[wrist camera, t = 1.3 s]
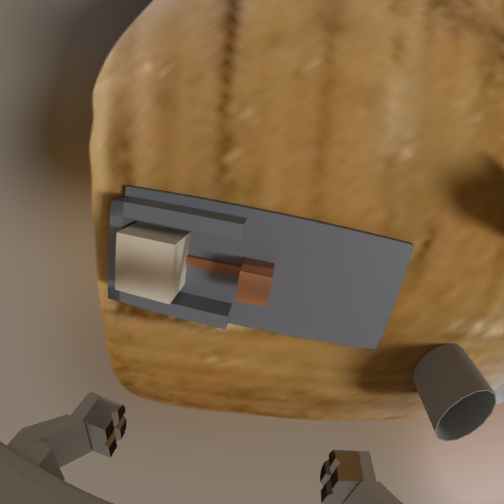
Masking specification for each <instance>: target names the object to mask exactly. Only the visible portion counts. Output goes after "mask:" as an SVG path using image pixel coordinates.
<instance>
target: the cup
mask: <svg viewBox="0 0 504 504" xmlns="http://www.w3.org/2000/svg"><path fill="white" fill-rule="evenodd" d="M413 382H414V384H415V386H416V389H417V391H418V393H419V395H420V398H421V400H422V402H423V404H424V407H425V409H426V411H427V414H428V416H429V418H430V421H431V423H432V426H433V428H434V430H435V433H436V436H437V438H438V439H441V440H444V441H451V440H458V439H460V438H462V437H464V436H466V435H469V434H470V433H472V432H473V431H475V430H476V429H477V428H479V427H480V426H481V425H482V424H483V423H484V422H485V421H486V420H487V418H488V417H489V416H490V415H491V414H492V411H493V409H494V407H495V405H496V395H495V393H494V391H493V390H492V388H491V387H490V385H489V384H488V382H487V381H486V380H485V378H484V377H483V375H482V374H481V372H480V371H479V370H478V368H477V367H476V365H475V364H474V363H473V361H472V360H471V358H470V357H469V356H468V354H467V353H466V352H465V350H464V349H463V348H462V347H460V346H459V345H457V344H447V343H445V344H443V345H440V346H438V347H435V348H433V349H432V350H431V351H429V352H428V353H427V354H426V355H424V356H423V357H422V358H421V360H420V361H419V363H418V364H417V366H416V367H415V369H414V374H413Z"/></svg>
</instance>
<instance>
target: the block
mask: <svg viewBox="0 0 504 504" xmlns="http://www.w3.org/2000/svg"><path fill="white" fill-rule="evenodd" d="M190 236H191V231H186V230H181V229H176V228H171V227H166V226H161V225H156V224H151V223H146V222H141V221H138V222H136V223H134V224H132V225H130V226H128V227H126V228H124V229H122V230H120V231H118V232H117V234H116V258H115V290H118V291H122V292H125V293H129V294H132V295H136V296H140V297H143V298H147V299H151V300H155V301H158V302H162V303H166V304H170V303H171V302H172V300H173V299H174V298H175V296H176V295H177V294H178V292H179V291H180V290H181V289H182V287H183V286H184V285H185V277H186V268H187V265H188V266H192V267H197V268H201V269H206V270H210V271H215V272H219V273H224V274H229V275H233V276H238V277H239V280H238V285H237V291H236V296H235V300H236V301H240V302H245V303H250V304H254V305H259V306H264V307H266V306H267V301H268V297H269V293H270V288H271V284H272V279H273V272H274V265H275V263H271V262H266V261H262V260H257V259H252V258H247V257H246V258H245V260H244V263H243V265H242V266H240V265H236V264H231V263H226V262H222V261H217V260H212V259H208V258H203V257H198V256H194V255H189V254H188V251H189V243H190Z"/></svg>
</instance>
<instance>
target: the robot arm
mask: <svg viewBox="0 0 504 504" xmlns="http://www.w3.org/2000/svg"><path fill="white" fill-rule="evenodd" d="M124 413H125V406H124V405H121V404H119V403H116V402H114V401H111V400H109V399H106V398H104V397H102V396H99V395H97V394H94V393H92V392H90V393H88V394H87V396H86V397H85V398H84V399H83V400H82V402H81V403H80V404H79V405H78V407H77V408H76V409H75V411H74V412H73V413H72V414H71V415H68V414H67V415H64V416H61V417H57V418H54V419H51V420H48V421H45V422H41V423H38V424H34V425H31V426H28V427H24V428H22V429H21V430H20V431H19V432H18V433H17V435H16V436H15V437H14V438H13V439H12V440H11V441H10V443H9V444H8V445H7V446H6V445H5V444H3V443H2V442H0V504H113V503H110V502H108V501H106V500H103V499H101V498H98V497H96V496H94V495H92V494H90V493H87V492H85V491H83V490H81V489H79V488H77V487H75V486H73V485H71V484H69V483H67V482H65V479H64V476H63V474H62V472H61V470H60V467H62V466H63V465H66V464H68V463H70V462H72V461H74V460H76V459H77V458H80V457H82V456H83V455H85V454H87V453H89V452H91V451H92V450H93V451H95V452H98V453H100V454H103V455H105V456H108V457H111V456H112V454H113V453H114V451H115V449H116V448H117V443H116V441H118V440H120V439H122V437H123V435H124V433H125V430H126V418H125V417H124V416H123V415H124ZM320 482H321V483H322V484H323V486H324V487H323V488H322V490H321V503H323V504H403V503H401V502H400V501H399V500H398V499H397V498H396V497H395V496H394V495H393V494H392V493H391V492H390V491H389V490H387V488H386V487H384V486H383V485H382V484H381V483H380V482H376V478H375V474H374V469H373V465H372V460H371V456H370V453H369V452H365V451H344V450H332V451H331V452H330V454H329V460H327V461H325V462H324V464H323V466H322V469H321V474H320Z"/></svg>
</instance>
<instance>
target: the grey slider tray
mask: <svg viewBox="0 0 504 504" xmlns="http://www.w3.org/2000/svg"><path fill="white" fill-rule="evenodd" d="M138 221H141V222H146V223H151V224H156V225H161V226H166V227H171V228H176V229H181V230H186V231H191V236H190V243H189V251H188V254H189V255H194V256H198V257H203V258H208V259H212V260H217V261H222V262H226V263H231V264H236V265H240V266H242V265H243V263H244V260H245V258H246V257H247V258H252V259H257V260H262V261H266V262H271V263H275V265H274V272H273V279H272V284H271V288H270V293H269V297H268V301H267V306H266V307H264V306H259V305H254V304H250V303H245V302H240V301H236V300H235V296H236V291H237V285H238V280H239V277H238V276H233V275H229V274H224V273H219V272H215V271H210V270H206V269H201V268H197V267H192V266H188V265H187V268H186V277H185V285H184V286H183V287H182V289H181V290H180V291H179V292H178V294H177V295H176V296H175V298H174V299H173V300H172V302H171V303H170V304H166V303H162V302H158V301H155V300H151V299H147V298H143V297H140V296H136V295H132V294H129V293H125V292H122V291H118V290H115V258H116V234H117V232H118V231H120V230H122V229H124V228H126V227H128V226H130V225H132V224H134V223H136V222H138ZM413 247H414V245H413V244H412V243H410V242H406V241H402V240H398V239H394V238H390V237H386V236H382V235H377V234H373V233H369V232H365V231H361V230H356V229H352V228H348V227H343V226H339V225H335V224H330V223H326V222H321V221H317V220H312V219H308V218H303V217H298V216H294V215H289V214H284V213H279V212H274V211H269V210H265V209H260V208H255V207H249V206H244V205H239V204H234V203H229V202H224V201H218V200H213V199H207V198H202V197H196V196H191V195H185V194H179V193H173V192H168V191H162V190H156V189H149V188H143V187H137V186H131V185H130V186H126V190H125V196H122V197H119V198H115V199H112V200H111V209H110V225H109V248H108V298H109V299H113V300H116V301H119V302H123V303H126V304H130V305H133V306H137V307H140V308H144V309H147V310H151V311H155V312H158V313H162V314H166V315H170V316H174V317H177V318H181V319H185V320H189V321H193V322H197V323H202V324H206V325H210V326H214V327H218V328H223V329H226V326H227V323H232V324H236V325H241V326H245V327H250V328H255V329H260V330H265V331H270V332H275V333H280V334H285V335H290V336H295V337H301V338H306V339H312V340H318V341H324V342H329V343H336V344H342V345H348V346H355V347H361V348H368V349H375V350H376V349H377V346H378V344H379V342H380V339H381V337H382V334H383V332H384V330H385V327H386V325H387V322H388V319H389V317H390V314H391V312H392V309H393V306H394V304H395V301H396V298H397V296H398V293H399V290H400V287H401V284H402V281H403V278H404V275H405V272H406V269H407V266H408V263H409V260H410V257H411V254H412V251H413Z"/></svg>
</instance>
